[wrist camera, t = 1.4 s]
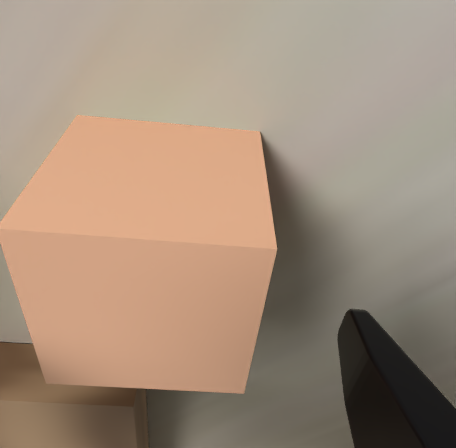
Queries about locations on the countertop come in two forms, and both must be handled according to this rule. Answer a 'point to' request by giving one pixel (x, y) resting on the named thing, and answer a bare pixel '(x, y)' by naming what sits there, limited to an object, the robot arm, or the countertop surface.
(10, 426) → the base board
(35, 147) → the countertop surface
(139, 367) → the block
